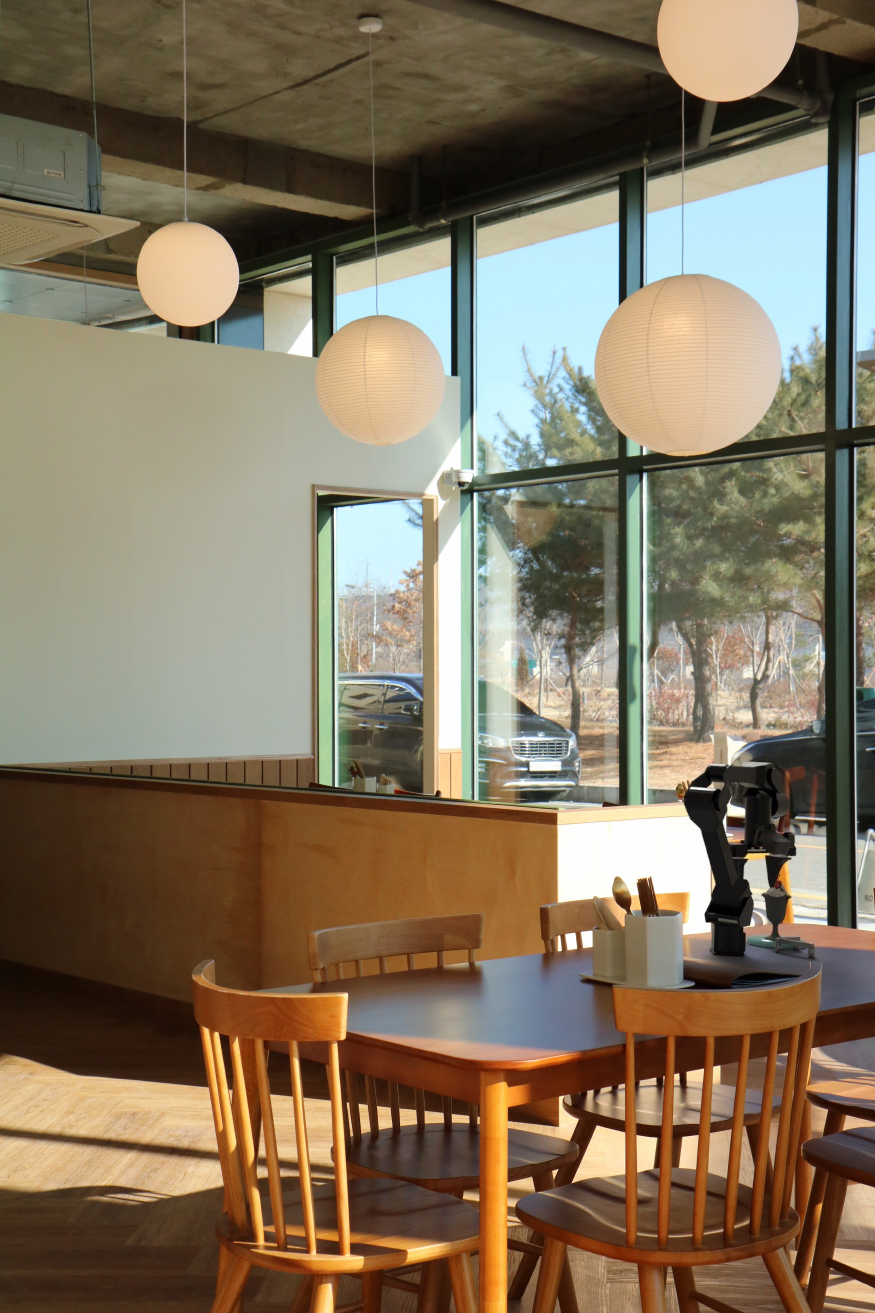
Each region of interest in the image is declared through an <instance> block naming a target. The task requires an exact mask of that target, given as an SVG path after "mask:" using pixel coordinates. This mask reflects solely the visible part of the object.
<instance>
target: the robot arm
mask: <svg viewBox="0 0 875 1313" xmlns="http://www.w3.org/2000/svg"><path fill="white" fill-rule="evenodd" d="M713 783H718V784H719V783H720V784H723V787H722V788H721V789H720V788H716V787H714V788H712V787H710V786H712V784H713ZM732 783H739V785H740V786H743V787H745V788H746V790H745V791H744V792H743V793H742V794H741V798H742V799H743V798H745V805H744V807H745V808H744V821H740V827H744V832H743V833H744V836H743V837H744V839H740V842H732V841H729V840H728V836H727V833H726V828H725V825H724V820H725V817H726V815H727V812H728V804H729V802H730V801H731V798H732V796H733V794H732V790H731V784H732ZM683 806H684V808H685V811H686V814H687V815H688V818H689V819H690V821H691V822H692V823H693V824H694V825H695V826H696V827H698V828H699V830H700V833H701V837H702V841H703V844H704V847H705V851H706V854H707V857H708V858H707V859H708V862H709V867H710V870H711V873H712V875H713V880H714V883H715V884H714V886H713V889H712V891H711V894H710V896H711V897H710V898H711V899H710V901H709V904H708V905H707V907H706V910H705V912H704V914H703V915H704V922H705V923H707V924H710V923H711V939H710V940H711V946H710V947H709V950H710V952H712V953H713V954H714V955H722V956H723V955H724V956H746V955H745V953H746V947H747V946H746V944H747V933H746V932H745V931H744V930H745V929H744V928H747V927H750V926H751V923H752V919H753V918H752V917H753V913H754V908H755V902H754V901H755V900H754V899H753V897H752V896H753V892H752V891H751V886H750V882H749V880H748V878H747V879H746V878H744V876H745V865H746V864H747V862H748V861H749V858H746V857H747V856H748V855H751V854H754V855H755V854H764V859H765V860H764V861H765V866H766V876H767V884H768V887H769V889H770V888H774V886H775V883H776V880H777V881H778V879H777V878H778V876H779V874H780V873H781V869H782V868H783V867H784V865H785V864H786V863H788V861H792V859H793V858H792V857H796V856H797V847H796V845H795V844H796V835H795V833H793V832H792V831H784V832H783V833H782V832H777V830H776V827H777V826H776V823H772V818H777V817H778V818H779V817H783V816H785V815H786V814H787V813H788V812H789V811H790V808H791V801H790V800H789V797H788V796H787V795H786V794H785V793H784V787H783V784H782V780H781V778H780V774H779V771H778V768H776V765H775V764H774V763H773V762H762V761H761V762H760V761H759V762H758V761H746V762H743V763H740V765H730V764H726V763H711V764H708V765H707V767H706V768H705V769H704V772H703V773H701V774H699V775H698V776H697V777H696V778H695V779H693V780H692V781H691V782H690V784H689V786H688V788H687V789H686V791H685V793H684V795H683Z"/></svg>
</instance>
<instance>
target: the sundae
mask: <svg viewBox="0 0 875 1313" xmlns="http://www.w3.org/2000/svg"><path fill="white" fill-rule="evenodd" d="M780 877H781V874H780V873H779V875H778V878H777V880H776V883H775V886H774V888H770V887H769V889H768V890H766V891H765V892H763V893H761V894H760V896H761V897H762V898H763V899H764V905H765V913H766V918H767V920H768V921H769V922H770V923H771V924H772V929H771V930H772V931H771V934H769V935H770V936H768V937H764V939H765V940H769V941H775V938H781V936H782V935H780V934H779V925H780V924H781V923H782V922H783V921H784V920H786V919H785V918H786V914H787V907H788V902H789V900H790V899H792V898H793V897H792V896H791V895H790V894H789V893H788V891H787V889H786V887H785V885H784V884H783V881H782V880H780V879H779V878H780Z"/></svg>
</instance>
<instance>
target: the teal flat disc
mask: <svg viewBox="0 0 875 1313" xmlns="http://www.w3.org/2000/svg"><path fill="white" fill-rule="evenodd" d="M770 935H771V934H752V935H746V944H748V945H751V946H754V947H759V948H765V949H766V948H767V949H774V950H775V941H769V940H765V939H764V937H768V936H770ZM780 936H781V937H788V936H787V935H786V936H785V935H780ZM800 941H802V942H806V940H804V939H801V938H800ZM801 949H802V950H803V949H805V947H800V950H801ZM781 950H794V946H793V945H786V944H781Z"/></svg>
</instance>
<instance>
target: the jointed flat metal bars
mask: <svg viewBox="0 0 875 1313" xmlns="http://www.w3.org/2000/svg"><path fill="white" fill-rule="evenodd" d="M800 939H801V936H800V935H799V936H798V935H797V936H795V935H793V936H787V937H781V938H775V949H774V952H775V953H779V954H780V953H782V949H781V944H786V945H793V946H794V949H793V951H796V952H800V951H801V949H800V947H805V948H806V949H807V958H810V959H815V958H816V954H815V953H816V948H815V942H808V941H805V942H802V941H800ZM805 948H804V949H805Z"/></svg>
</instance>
